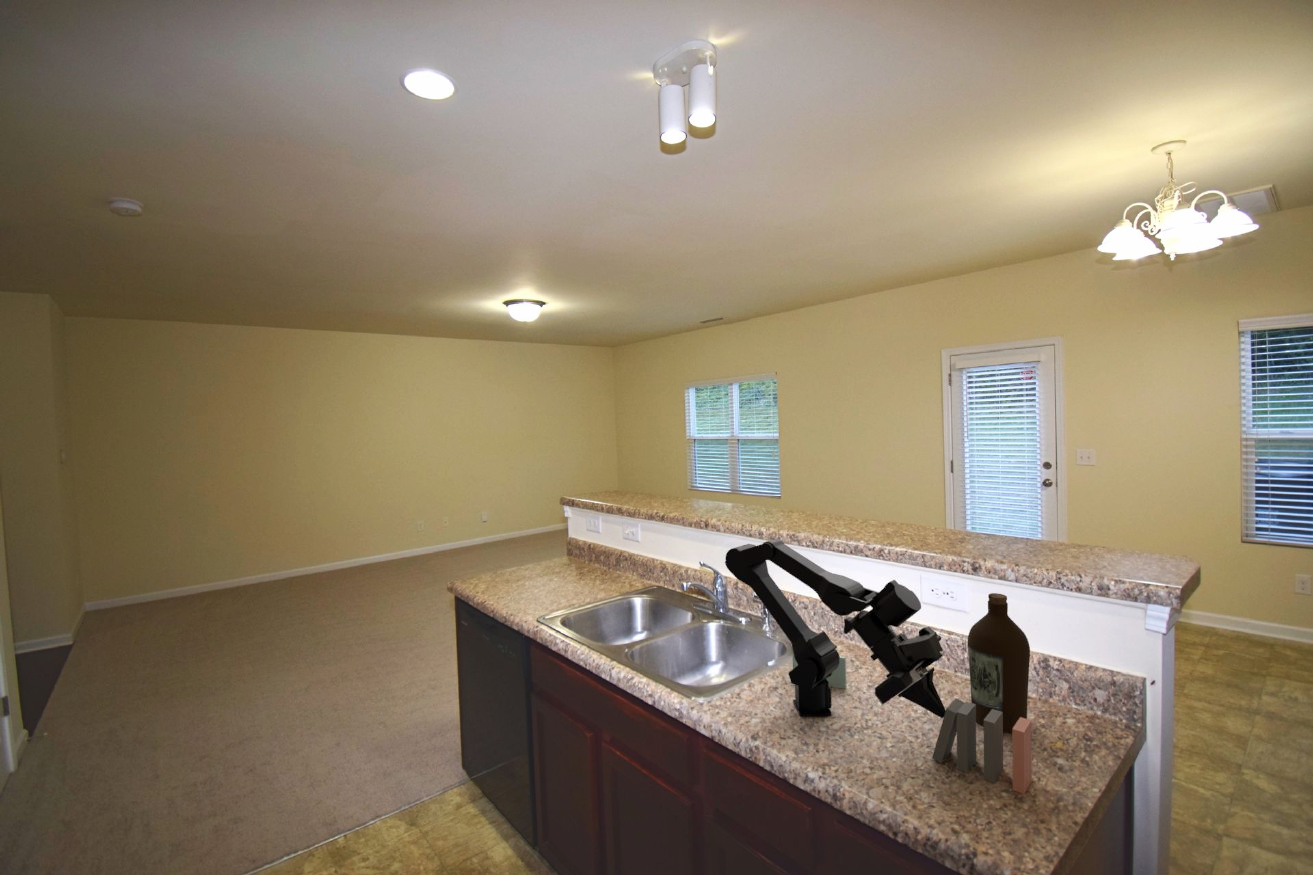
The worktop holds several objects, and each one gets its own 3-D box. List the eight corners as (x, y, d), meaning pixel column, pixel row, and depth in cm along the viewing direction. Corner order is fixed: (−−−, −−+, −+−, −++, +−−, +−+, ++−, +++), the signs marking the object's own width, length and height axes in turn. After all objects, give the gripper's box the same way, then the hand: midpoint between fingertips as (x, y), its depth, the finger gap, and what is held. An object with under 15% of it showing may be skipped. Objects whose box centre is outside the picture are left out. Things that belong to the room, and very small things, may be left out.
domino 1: (932, 757, 103) (946, 708, 101) (941, 746, 107) (956, 697, 105) (941, 763, 102) (956, 713, 100) (950, 751, 106) (965, 702, 104)
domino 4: (1012, 789, 95) (1012, 728, 94) (1020, 775, 98) (1020, 716, 98) (1024, 793, 94) (1023, 732, 93) (1031, 779, 97) (1031, 720, 97)
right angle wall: (845, 691, 131) (844, 658, 131) (793, 680, 137) (792, 648, 137) (857, 671, 141) (856, 640, 141) (808, 661, 148) (807, 632, 147)
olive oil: (991, 703, 123) (990, 584, 122) (1043, 726, 113) (1042, 598, 113) (956, 715, 118) (955, 592, 118) (1006, 740, 109) (1005, 607, 108)
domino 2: (957, 769, 100) (956, 711, 100) (966, 756, 104) (965, 701, 104) (967, 773, 99) (966, 714, 99) (976, 760, 103) (975, 704, 103)
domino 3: (984, 779, 98) (983, 719, 97) (992, 766, 101) (992, 708, 101) (994, 783, 96) (994, 723, 96) (1003, 769, 100) (1002, 711, 100)
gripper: (890, 630, 101) (961, 714, 93) (930, 604, 114) (995, 675, 107) (848, 663, 106) (912, 745, 99) (890, 635, 120) (949, 705, 112)
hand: (944, 716), depth 104 cm, fingers closed
